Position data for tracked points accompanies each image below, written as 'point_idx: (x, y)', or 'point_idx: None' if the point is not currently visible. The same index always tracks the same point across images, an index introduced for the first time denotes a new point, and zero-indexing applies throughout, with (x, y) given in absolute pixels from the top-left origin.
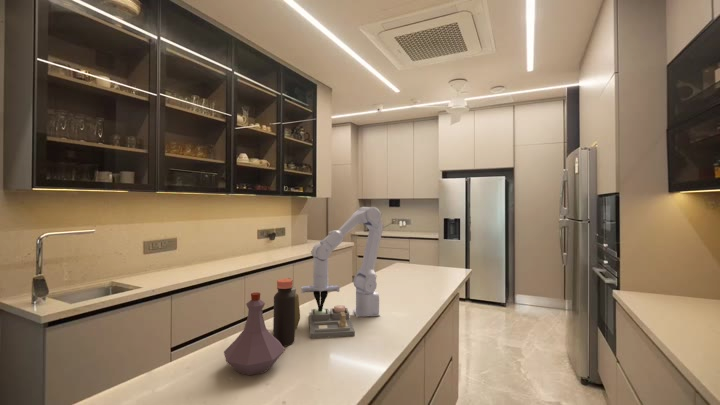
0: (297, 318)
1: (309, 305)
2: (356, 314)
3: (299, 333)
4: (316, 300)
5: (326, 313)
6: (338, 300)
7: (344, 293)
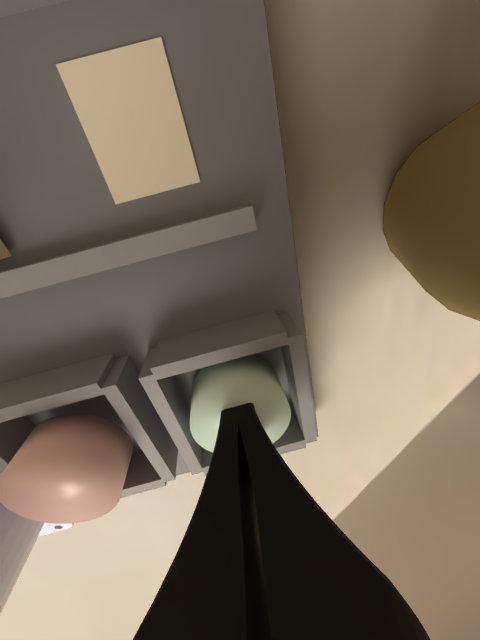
0: (476, 136)
1: None
2: None
3: (359, 72)
4: (311, 504)
5: None
6: None
7: None
